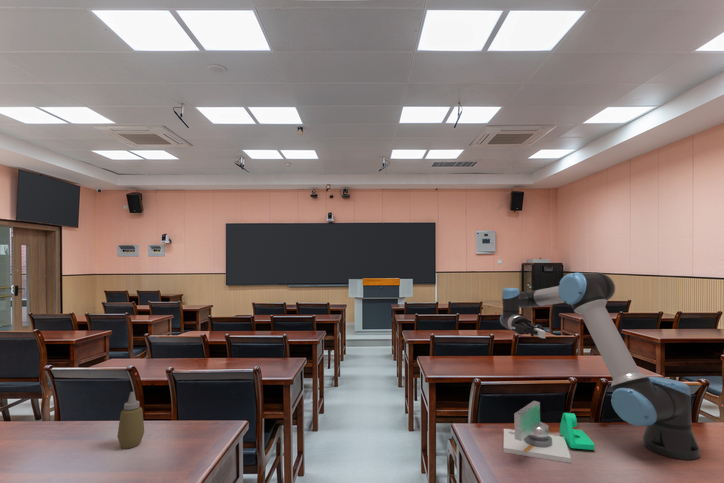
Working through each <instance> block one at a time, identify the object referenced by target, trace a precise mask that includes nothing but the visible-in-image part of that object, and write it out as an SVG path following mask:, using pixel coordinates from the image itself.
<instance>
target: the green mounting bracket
mask: <svg viewBox="0 0 724 483" xmlns="http://www.w3.org/2000/svg"><path fill="white" fill-rule="evenodd" d="M577 426H578V421H577V417H576V414H575V413H574V412H573V413H570V412H563V413H562V417H561V421H560V426H559V434H560V436H562V437H564V438H565V441H566V445H567V447H569V448H571V449H578V450H590V451H591V450H593V451H594V450H595V448H596V447H595V443H594V441H592V440H591V438H590V436H588V434H586V433H585V432H584V430H582V429H574V428H576V427H577Z"/></svg>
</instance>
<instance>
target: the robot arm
mask: <svg viewBox="0 0 724 483" xmlns="http://www.w3.org/2000/svg"><path fill="white" fill-rule="evenodd" d="M615 292H616V285H615V283H614V280H613V279H612V278H611V277H610V276H609V275H607V274H605V273H602V272H578V271H576V272H574V273H573V272H572V273H568V274H565V275H564V276H563V277H562V278H561V279H560V281H559V285H556V286H551V287H547V288H540V289H537V290H529V291H520V289H519V288H518V287H504V288H502V294H501V298H502V314H501V315H500V317H499V322H500V325H502V327H504V328H505V329H508V330H510V331H512V332H514V333H515V334H518V335H530V337H534V336H535V337H537V338H540V339H546V331H545V328H544V327H543V326H542V324H534V323H531V322H530V320H529V319H528V318H526V317H523V316H522V315H520V314H521V312H520V310H521V308H522V309H523V308H539V307H543V306H548V305H556V304H557V305H558V304H564V303H565V304H568V305H571V308H572V310H573V312H574V313H576V314H578V315H580V316H581V318H582V320H583V323H584V324H585V326H586V328H587V330H588V332H589V334H590V336H591V338H592V341H593V343H594V344H595V347H596V348H597V350H598V353H599V354H600V356H601V358H602V360H603V362H604V364H605V366H606V368H607V370H608V372H609V374H610V377H611V378H612V382H611V385H610V387H611V389H612V391H613V392H612V394H611V398H610V399H611V400H610V401H611V406H612V408H613V410H614V412H615V413H616V414H617V415H618V417H619V418H620V419H622V420H623V421H624V422H626V423H628V424H629V425H632V426H636V427H641V426H642V427H645V429H644V432H643V435H642V443H643V445H644V446H645V448H647V449H648V450H650V451H652V452H654V453H657V454H659V455H661V456H665V457H669V458H673V459H676V460H685V461H687V460H688V461H693V460H697V459H699V458H700V457H701V452H700V446H699V444H698V441H697V440H696V437H695V434H694V432H693V428H692V427H693V426H692V425H693V424H692V394H691V387H690V385H688V384H686V383H684V382H683V381H682V382H681V381H680V380H675V379H670V378H668V377H667V378H666V377H660V376H653V375H652V376H651V375H650V376H649V375H646V374H643V373H642V372H641V371H640V369H639V367H638V365H637V364H636V362H635V360H634V359H633V356H632V354H631V352H630V350H629V349H628V347H627V346H626V343H625V341H624V340H623V338H622V336H621V334H620V332H619V330H618V328H617V327H616V325H615V323H614V321H613V319H612V316H611V315H610V314H609V312H608V309H607V308H606V305H607V303H608V301H609V300H610V299H611V298H612V297H613V296H614V294H615Z"/></svg>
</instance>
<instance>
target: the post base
mask: <svg viewBox="0 0 724 483" xmlns="http://www.w3.org/2000/svg"><path fill="white" fill-rule="evenodd" d="M503 453H504V454H505V453H506V454H512V455H516V456H524V457H530V458H538V459H543V460H550V461H555V462H562V463H569V464H572V458H571V453H570V451H569V447H568V446H567V445H566V441H565V438H564V437H562V435H553V434H549V439H548V440H545V441H539V440H534V439H531V438H529V437H528V436H527V437H526V438H524V439H523V440H522V441H519V440H516V439H515V429H512V428H511V429H510V428H503Z"/></svg>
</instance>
